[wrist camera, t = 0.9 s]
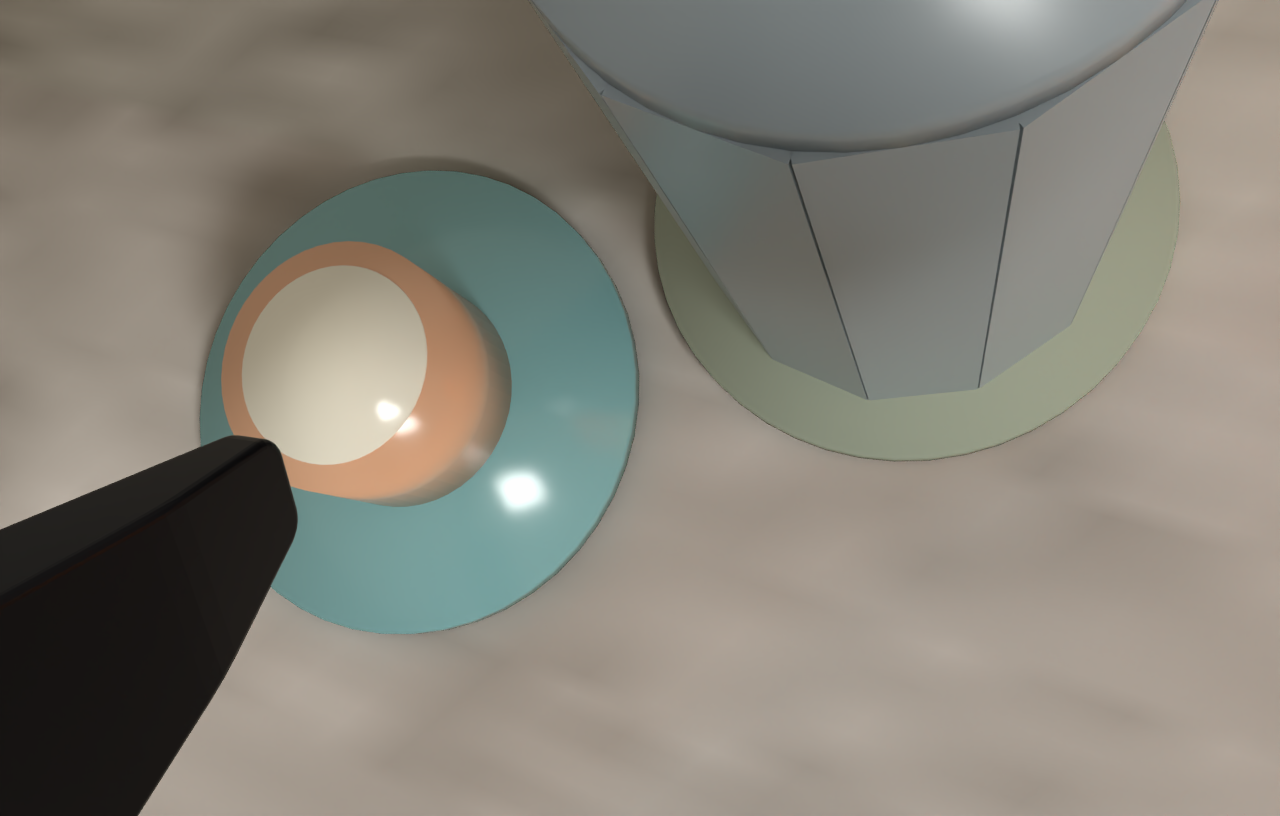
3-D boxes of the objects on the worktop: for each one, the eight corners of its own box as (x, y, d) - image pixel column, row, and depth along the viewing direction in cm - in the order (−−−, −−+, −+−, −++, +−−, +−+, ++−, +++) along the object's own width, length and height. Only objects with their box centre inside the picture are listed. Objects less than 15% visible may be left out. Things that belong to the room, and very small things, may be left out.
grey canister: (855, 474, 22) (750, 298, 10) (641, 178, 24) (341, -262, 12) (1200, 236, 21) (1549, -277, 9) (946, -48, 23) (952, -764, 11)
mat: (841, 563, 22) (839, 562, 21) (572, 177, 25) (566, 171, 24) (1297, 253, 21) (1302, 246, 20) (959, -113, 24) (959, -125, 23)
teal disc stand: (341, 727, 24) (240, 746, 20) (145, 352, 27) (29, 313, 23) (732, 452, 23) (696, 422, 19) (485, 92, 26) (415, 11, 22)
